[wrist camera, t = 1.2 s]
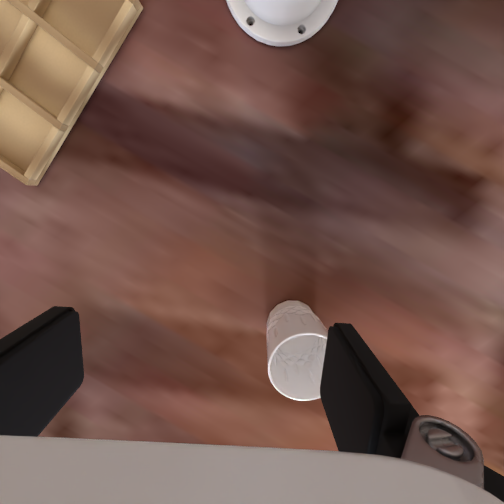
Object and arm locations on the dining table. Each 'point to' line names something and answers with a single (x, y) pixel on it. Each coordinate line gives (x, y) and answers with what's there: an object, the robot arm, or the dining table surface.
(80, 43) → the board
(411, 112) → the dining table surface
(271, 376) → the white cup
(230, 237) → the dining table surface
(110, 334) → the dining table surface
